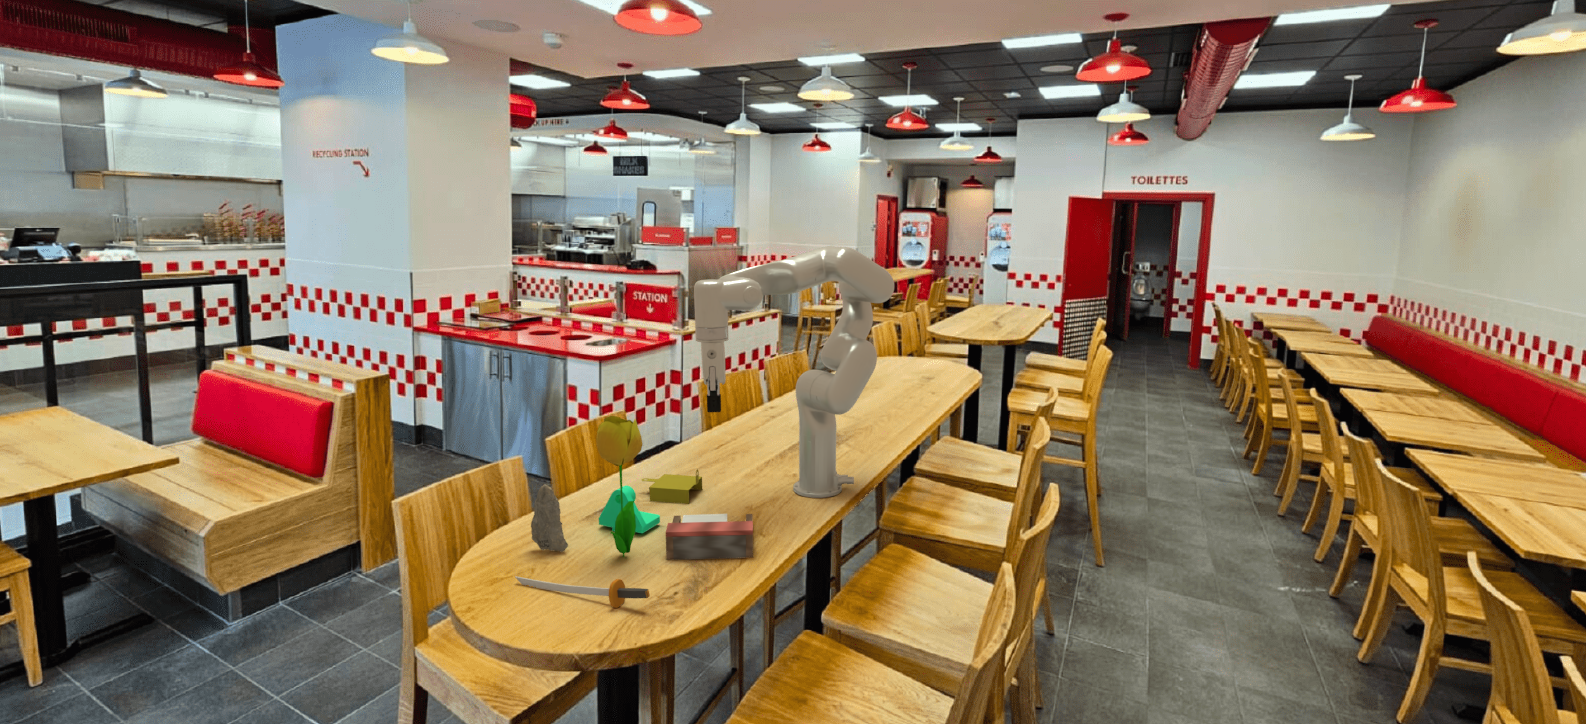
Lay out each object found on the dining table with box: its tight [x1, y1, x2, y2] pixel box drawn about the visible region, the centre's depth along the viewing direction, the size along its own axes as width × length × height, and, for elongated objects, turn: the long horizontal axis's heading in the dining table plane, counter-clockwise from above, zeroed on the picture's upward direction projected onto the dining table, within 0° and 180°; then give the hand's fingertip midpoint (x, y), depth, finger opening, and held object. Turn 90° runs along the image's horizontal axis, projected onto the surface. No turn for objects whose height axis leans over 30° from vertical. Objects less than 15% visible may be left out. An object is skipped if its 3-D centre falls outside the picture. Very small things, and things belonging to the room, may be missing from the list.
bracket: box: [641, 468, 703, 505], centre depth 201 cm, size 16×8×15 cm
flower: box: [595, 415, 643, 558], centre depth 163 cm, size 9×8×30 cm
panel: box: [681, 513, 728, 523], centre depth 173 cm, size 10×16×4 cm, turn 4°
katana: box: [514, 575, 651, 609], centre depth 147 cm, size 30×4×5 cm, turn 68°
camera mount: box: [598, 485, 661, 534], centre depth 180 cm, size 12×8×10 cm, turn 65°
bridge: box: [665, 513, 754, 561], centre depth 173 cm, size 18×18×6 cm
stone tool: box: [530, 483, 569, 553], centre depth 167 cm, size 8×3×15 cm, turn 75°
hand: (714, 411), depth 184 cm, fingers closed
